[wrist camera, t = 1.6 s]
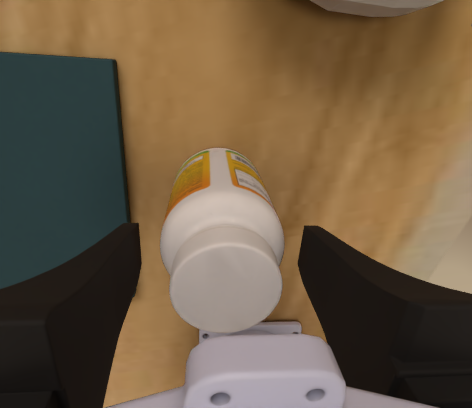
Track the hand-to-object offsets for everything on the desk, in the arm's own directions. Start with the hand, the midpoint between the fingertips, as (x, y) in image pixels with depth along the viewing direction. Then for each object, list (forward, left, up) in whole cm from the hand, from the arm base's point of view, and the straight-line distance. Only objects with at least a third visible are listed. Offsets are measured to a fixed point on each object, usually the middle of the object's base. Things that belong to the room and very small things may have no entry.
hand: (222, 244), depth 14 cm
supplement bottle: (0, 0, -7) cm, 7 cm away
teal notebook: (-1, +12, -7) cm, 14 cm away
